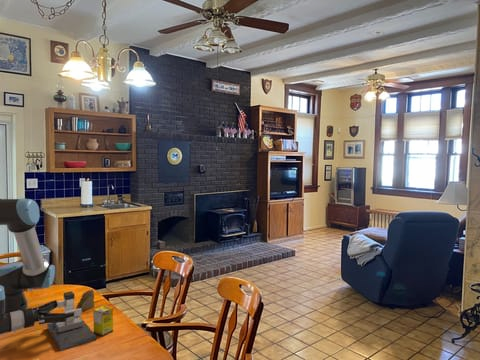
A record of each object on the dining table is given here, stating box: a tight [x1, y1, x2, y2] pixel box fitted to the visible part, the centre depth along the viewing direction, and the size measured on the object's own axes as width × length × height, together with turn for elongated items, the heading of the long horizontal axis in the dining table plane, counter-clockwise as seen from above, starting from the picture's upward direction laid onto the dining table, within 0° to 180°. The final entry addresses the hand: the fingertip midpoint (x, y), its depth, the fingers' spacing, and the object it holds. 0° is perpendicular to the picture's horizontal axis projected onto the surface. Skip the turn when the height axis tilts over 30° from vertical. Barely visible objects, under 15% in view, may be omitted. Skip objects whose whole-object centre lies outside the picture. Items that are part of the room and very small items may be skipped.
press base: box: [46, 315, 97, 351], centre depth 159 cm, size 24×14×5 cm, turn 39°
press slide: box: [56, 290, 84, 333], centre depth 161 cm, size 5×10×15 cm, turn 129°
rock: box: [75, 289, 95, 312], centre depth 186 cm, size 11×9×10 cm
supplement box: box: [92, 305, 114, 337], centre depth 161 cm, size 6×6×11 cm
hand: (77, 306), depth 163 cm, fingers open, 13 cm apart
